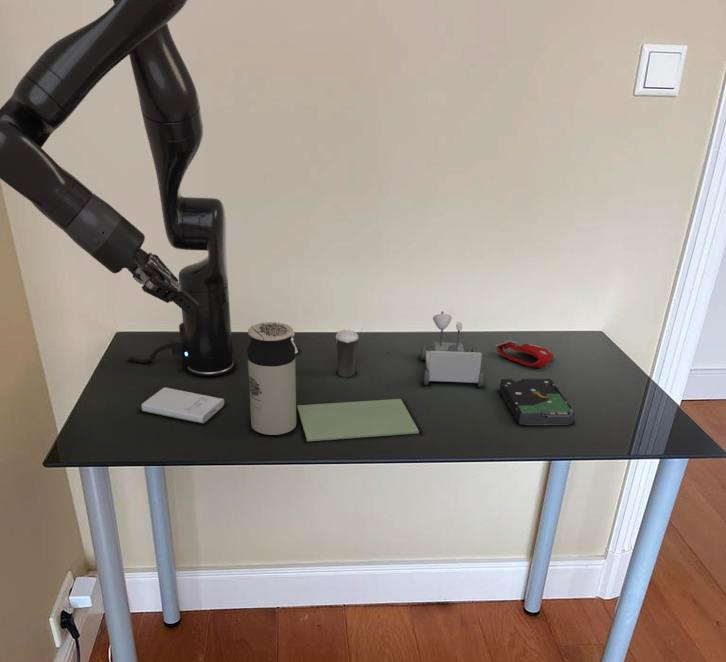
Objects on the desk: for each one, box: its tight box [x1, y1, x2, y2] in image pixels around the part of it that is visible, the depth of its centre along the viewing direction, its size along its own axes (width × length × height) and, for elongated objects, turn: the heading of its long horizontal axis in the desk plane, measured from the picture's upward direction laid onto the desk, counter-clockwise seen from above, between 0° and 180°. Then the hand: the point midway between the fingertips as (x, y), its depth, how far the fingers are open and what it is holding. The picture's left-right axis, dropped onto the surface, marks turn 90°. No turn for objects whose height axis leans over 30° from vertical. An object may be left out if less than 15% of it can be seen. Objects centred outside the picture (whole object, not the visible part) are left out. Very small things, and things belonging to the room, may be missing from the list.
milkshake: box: [335, 328, 363, 378], centre depth 153 cm, size 4×5×10 cm
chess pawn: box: [291, 330, 299, 355], centre depth 162 cm, size 3×3×5 cm
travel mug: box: [246, 321, 297, 436], centre depth 131 cm, size 8×8×18 cm
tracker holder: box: [494, 339, 554, 369], centre depth 163 cm, size 12×4×10 cm
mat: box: [296, 398, 420, 442], centre depth 138 cm, size 20×13×1 cm, turn 102°
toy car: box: [420, 311, 485, 388], centre depth 156 cm, size 18×10×12 cm
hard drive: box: [141, 386, 225, 424], centre depth 140 cm, size 2×8×12 cm
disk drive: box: [499, 378, 575, 426], centre depth 144 cm, size 10×3×15 cm
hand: (195, 310), depth 122 cm, fingers closed
